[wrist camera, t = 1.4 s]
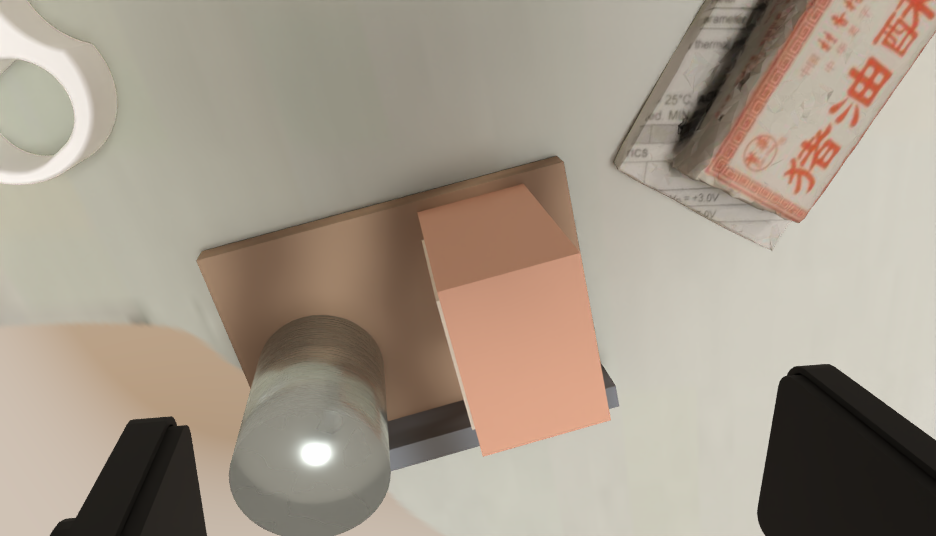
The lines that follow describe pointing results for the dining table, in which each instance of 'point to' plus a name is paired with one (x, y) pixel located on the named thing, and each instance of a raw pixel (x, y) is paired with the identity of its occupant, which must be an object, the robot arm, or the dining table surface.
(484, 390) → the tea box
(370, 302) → the shelf board
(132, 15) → the dining table surface
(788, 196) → the packaged product
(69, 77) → the knuckle duster
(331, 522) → the tin
